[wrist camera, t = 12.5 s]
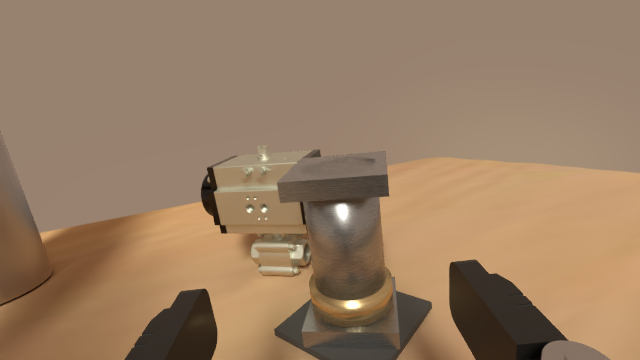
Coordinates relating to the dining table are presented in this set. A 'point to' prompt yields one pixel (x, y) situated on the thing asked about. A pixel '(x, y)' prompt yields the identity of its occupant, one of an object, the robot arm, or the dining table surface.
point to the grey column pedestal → (345, 251)
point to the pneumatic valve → (260, 207)
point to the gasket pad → (408, 320)
